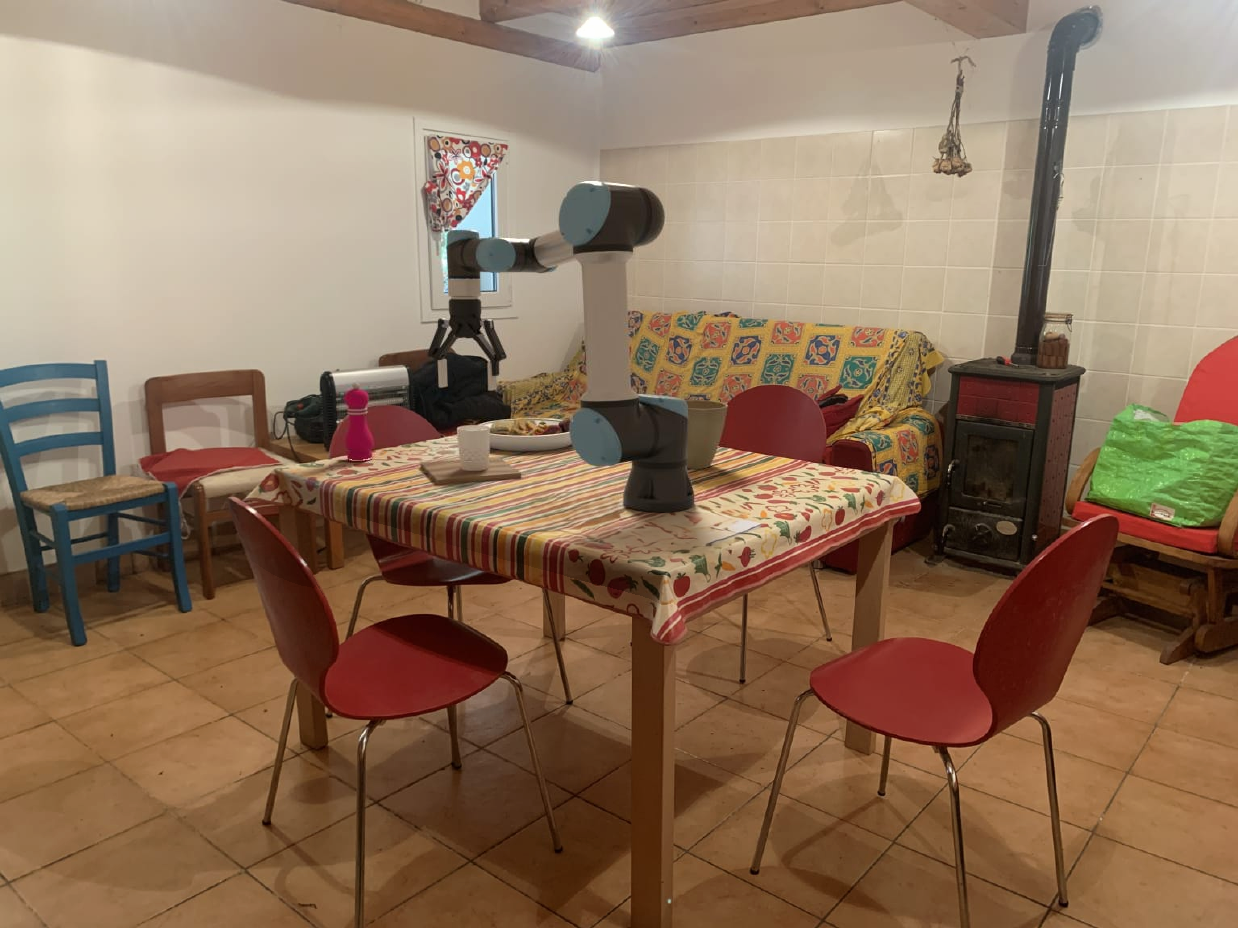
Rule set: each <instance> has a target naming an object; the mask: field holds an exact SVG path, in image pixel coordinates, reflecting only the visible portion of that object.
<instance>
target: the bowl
mask: <svg viewBox="0 0 1238 928" xmlns="http://www.w3.org/2000/svg"><path fill="white" fill-rule="evenodd" d="M570 421H571V419H567V418H565V419H550V418H524V417H516V418H510V419H509V418H508V419H499V420H492V421H487V422H483V423H479V424H478V425H483V426H488V427H490V449H493V450H498V449H499V451H505V452H506V451H509V452H543V451H545V452H546V451H554V450H559V449H563V448H567V447H570V446H572V442H571V439H570V433H569V426H570Z"/></svg>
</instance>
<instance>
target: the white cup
mask: <svg viewBox="0 0 1238 928" xmlns="http://www.w3.org/2000/svg"><path fill="white" fill-rule="evenodd" d="M456 433H457V447H458V456H459V457H458V458H459V460H460V466H461V469H462V470H465V471H481V470H486V469H488V468H489V458H490V454H491V453H490V451H491V450H490V449H491V448H490V427H488V426H483V425H479V424H476V425H475V424H473V425H472V424H471V425H470V424H469V425H468V424H467V425H461V426H458V427H457V428H456Z"/></svg>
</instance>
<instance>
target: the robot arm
mask: <svg viewBox="0 0 1238 928" xmlns="http://www.w3.org/2000/svg"><path fill="white" fill-rule="evenodd" d="M665 219H666V216H665V209H664V205H663V203H662V201H661V200H660V198H659V197H658V196H657V195H656V194H655V193H654V192H653V191H652V190H650V189H648V188H647V187H645V186H644V187H643V186H642V185H634V184H633V185H630V184H624V183H623V184H622V183H616V182H615V183H614V182H613V183H612V182H607V181H601V180H599V181H597V180H596V181H582V182H579V183H577V184H575V185H573V186H572V187H571V188H570V189H569V191H568V192H567V193H566V195H565V196H564V198H563V200H562V202H561V204H560V209H559V213H558V229H555V230H552V231H551V232H550V231H549V232H547V233H545V234H542V235H539V236H537V237H534V238H528V239H527V238H503V237H499V236H498V237H497V236H496V237H495V236H492V237H491V236H489V237H484V238H481V237H480V234H479V231H477V230H473V229H451V230H449V231H448V232H447V233H446V246H445V247H446V248H445V249H446V265H447V267H446V268H447V277H448V278H447V290H448V291H447V294H448V297H450V298H449V300H448V314H449V319H448V318H447V317H443V318H438V319H437V328H436V331H435V333H434V336H433V339H432V341H431V343H430V346H429V349H428V350H427V357H428V358H433V359H434V364H435V366H434V367H435V373H436V374H437V375H438V388H445V387H448V386H449V385H448V363H447V362H448V361H447V359H446V358H445V356H446V355H447V354H448V352H449V351H450V349H451V348H452V346H453V345H454V344H455V342H456V341H457V340H458V339H473V340H474V341H475V342H476V343H477V344H478V346H479V347H480V348H481V350H482V351H483V353H484V354H485V355H486V357H487V358H488V359H489V362H487V390H488V391H494V390H498V385H497V377H498V376H499V375H500V362H501V361H503V360H506V359H507V358H508V357H507V354H506V351H505V349H504V347H503V345H502V342H501V340H500V339H499V336H498V334H497V331H496V330H495V322H494V320H493V319H484V320H482V317H481V316H482V300H481V299H480V298H479V297H481V296H482V293H481V292H482V291H481V290H482V289H481V287H482V286H481V273H492V274H494V273H495V274H496V273H497V274H498V273H499V274H501V273H536V274H546V273H552V272H554V271H556V270H557V268H558V267H559V266H562V265H564V264H568V263H572V262H574V261H577V262H578V263H579V264H580V266H581V278H582V279H581V281H582V285H581V286H582V301H583V321H584V322H583V323H584V326H583V327H584V343H585V344H584V345H585V364H586V365H585V367H586V369H585V370H586V384H587V386H586V387H587V388H586V391H584V393H583V394H582V395H581V396H580V397H579V400H580V401H579V402H580V408H579V409H578V410H577V411H575V412H574V413H573V414H572V417H571V419H570V420H571V421H570V426H569V433H570V439H571V442H572V444H571V446H572V447H573V449H574V450H575V453H576V455H578V456H579V457H580V459H581V460H582V462H583V461H584V463H586V464H588V465H590V466H591V467H593V466H594V467H605V466H606V467H607V466H608V467H613V466H616V465H618V464H623V463H629V462H631V469H630V471H629V475H628V478H627V480H626V484H625V486H624V489H623V494H622V496H623V497H622V499H623V501H622V503H623V506H624V505H625V507H627V508H629V509H632V510H637V511H643V512H653V513H668V512H672V513H673V512H678V511H684V510H688V509H690V508H693V507H694V505H695V491H694V488H693V485H692V482H691V479H690V474H689V471H688V468H687V445H688V420H689V417H688V405H687V403H686V401H684V400H685V399H683V398H680V397H679V398H678V397H674V396H668V395H667V396H666V395H658V394H646V393H645V394H644V393H637V392H636V391H634V390H633V388H632V386H631V385H632V384H631V382H632V381H631V360H630V359H631V357H630V338H629V337H630V331H629V307H628V306H629V305H628V287H627V286H628V285H627V283H628V281H627V263H628V261H629V260H630V258H632V257H633V255H634V248H639V247H642V246H643V247H644V246H647V245H649V244H651V243H653V242H654V241H655V240H656V239H657V238H658V237H659V236H660V234H661V233H662V231H663V228H664V226H665ZM449 327H450V329H451V330H450V331H449V333H448V335H447V337H446V339H445V340H444V338H445V336H446V334H447V330H448V329H449ZM481 328H483V329H484V332H485V334H486V336H487V337H486V338H485V334H484V333H483V332H482V330H481ZM487 338H488V340H487Z"/></svg>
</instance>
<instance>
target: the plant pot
mask: <svg viewBox="0 0 1238 928" xmlns="http://www.w3.org/2000/svg"><path fill="white" fill-rule="evenodd" d="M683 400H684V401H686V403H687V405H688V417H689V420H688V445H687V469H688V468H691V469H690V470H703V469H702V468H706V469H708V468H707V467H709V466H710V467H711V465H712V463H713V461H714V459H715V456H716V453H717V450H718V447H719V444H720V441H721V439H722V435H723V431H724V427H725V423H726V417H727V411H728V407H729V405H728V404H726V403H724V402H720V401H713V400H705V399H704V400H703V399H700V400H699V399H683ZM710 467H709V468H710Z"/></svg>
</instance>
